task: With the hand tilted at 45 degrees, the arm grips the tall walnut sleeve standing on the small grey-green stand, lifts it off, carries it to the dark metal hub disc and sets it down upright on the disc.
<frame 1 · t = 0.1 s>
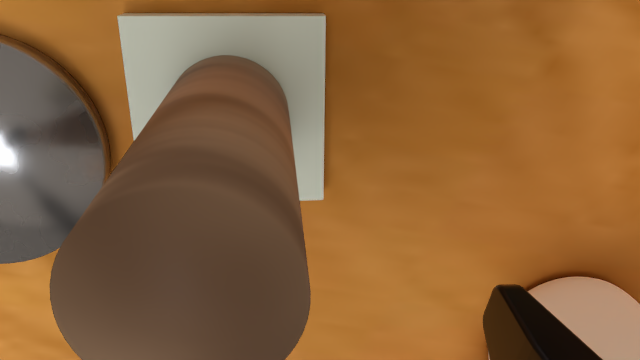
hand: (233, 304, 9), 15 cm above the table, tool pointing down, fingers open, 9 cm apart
stand: (230, 109, 23), on the table
mug: (529, 348, 31), on the table
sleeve: (229, 115, 23), point 1 cm above the table, touching stand
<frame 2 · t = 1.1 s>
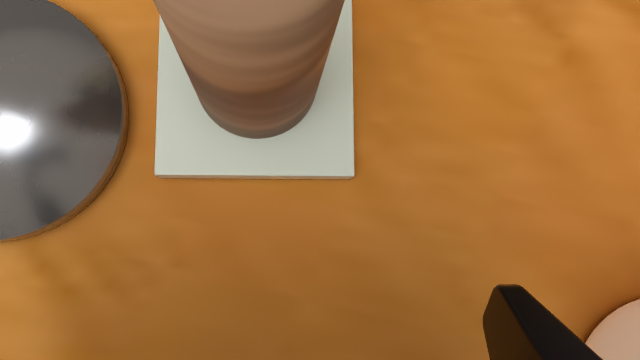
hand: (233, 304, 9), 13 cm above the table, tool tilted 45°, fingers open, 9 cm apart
stand: (257, 86, 23), on the table
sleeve: (257, 79, 22), point 1 cm above the table, touching stand
hub: (3, 118, 22), on the table
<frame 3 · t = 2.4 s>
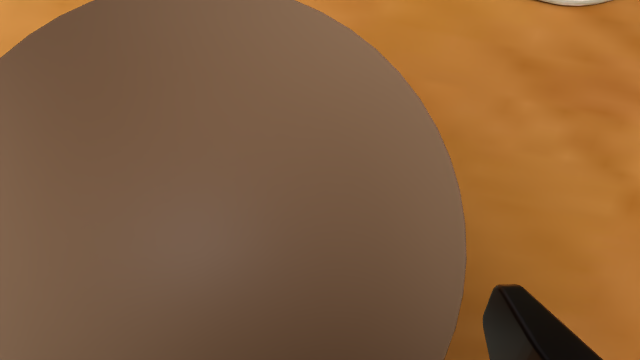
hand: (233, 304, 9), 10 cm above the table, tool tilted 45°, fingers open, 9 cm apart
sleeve: (250, 252, 18), point 1 cm above the table, touching stand
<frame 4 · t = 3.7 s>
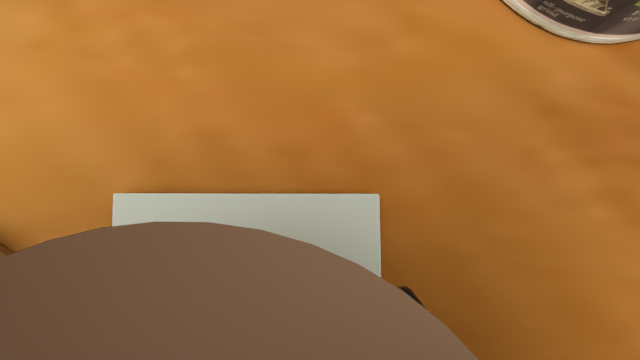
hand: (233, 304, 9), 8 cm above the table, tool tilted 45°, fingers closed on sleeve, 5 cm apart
stand: (249, 324, 17), on the table
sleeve: (248, 329, 16), point 1 cm above the table, touching gripper, stand
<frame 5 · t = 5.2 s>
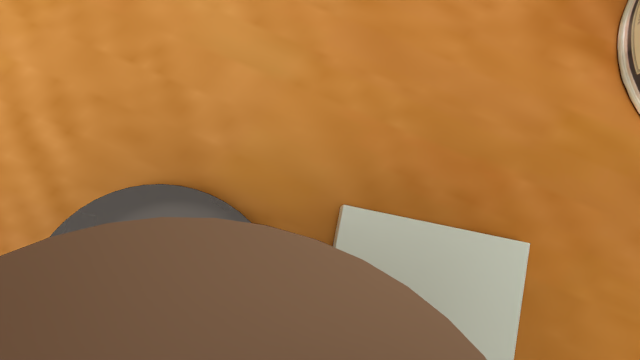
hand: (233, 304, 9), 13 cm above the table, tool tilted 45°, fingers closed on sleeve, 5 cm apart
stand: (415, 318, 23), on the table
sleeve: (249, 328, 16), point 6 cm above the table, touching gripper
hub: (161, 310, 22), on the table
when the fingers open (9 cm above the table, at t = 6.8 s): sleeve drops 1 cm, resting on hub.
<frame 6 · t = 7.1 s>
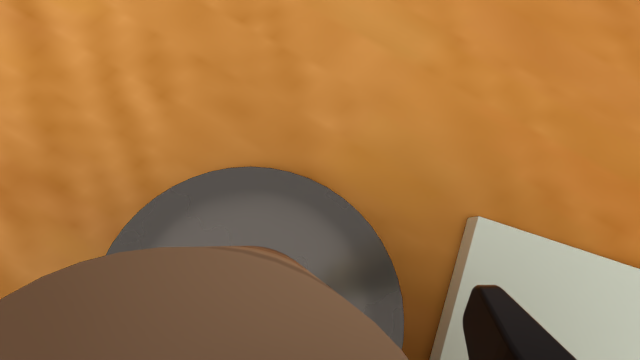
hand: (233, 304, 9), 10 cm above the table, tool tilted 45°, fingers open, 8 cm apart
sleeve: (248, 325, 17), point 1 cm above the table, touching hub
hub: (250, 317, 18), on the table
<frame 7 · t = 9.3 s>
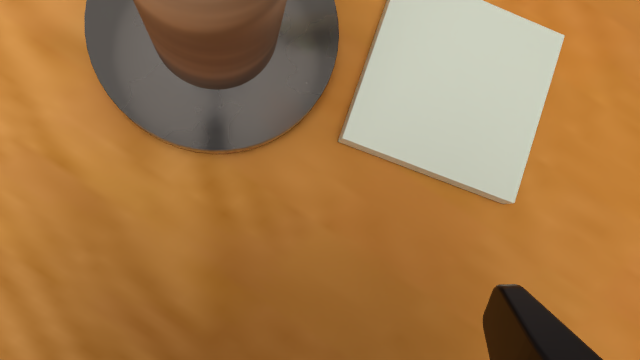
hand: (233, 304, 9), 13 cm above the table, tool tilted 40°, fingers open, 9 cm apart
stand: (449, 90, 24), on the table
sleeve: (215, 28, 22), point 1 cm above the table, touching hub
hub: (217, 36, 23), on the table
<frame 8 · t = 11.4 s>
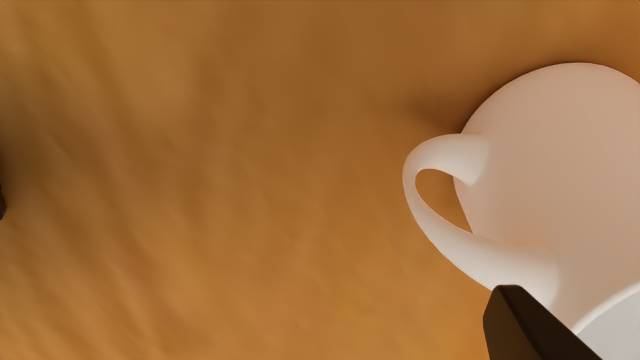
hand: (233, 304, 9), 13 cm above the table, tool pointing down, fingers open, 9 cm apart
mug: (508, 135, 24), on the table
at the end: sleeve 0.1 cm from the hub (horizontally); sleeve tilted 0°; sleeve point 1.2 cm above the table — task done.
